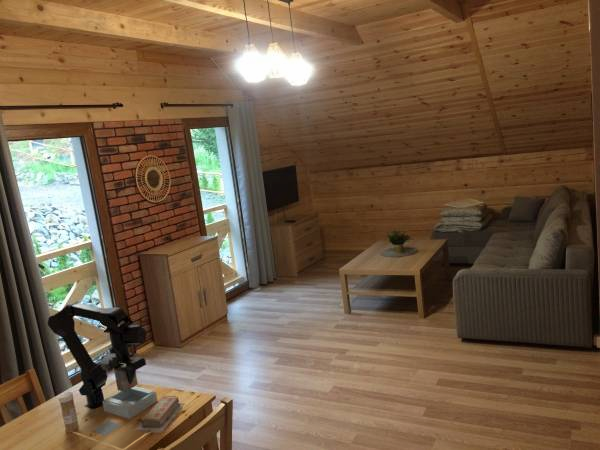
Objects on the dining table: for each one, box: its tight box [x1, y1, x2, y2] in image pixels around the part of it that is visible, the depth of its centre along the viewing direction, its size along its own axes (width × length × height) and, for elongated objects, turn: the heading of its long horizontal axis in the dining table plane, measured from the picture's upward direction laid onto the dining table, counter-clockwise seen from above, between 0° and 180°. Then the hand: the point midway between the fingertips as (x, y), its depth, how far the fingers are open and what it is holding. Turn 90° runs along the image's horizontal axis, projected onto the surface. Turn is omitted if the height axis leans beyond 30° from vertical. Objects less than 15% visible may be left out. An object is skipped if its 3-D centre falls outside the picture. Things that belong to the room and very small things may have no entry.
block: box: [113, 364, 139, 392], centre depth 194 cm, size 4×6×8 cm, turn 147°
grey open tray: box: [102, 385, 158, 420], centre depth 196 cm, size 14×13×5 cm
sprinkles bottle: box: [58, 391, 80, 434], centre depth 184 cm, size 5×5×13 cm
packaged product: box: [135, 395, 185, 434], centre depth 186 cm, size 18×5×10 cm
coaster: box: [91, 420, 122, 436], centre depth 182 cm, size 7×7×1 cm
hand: (126, 382), depth 194 cm, fingers closed on block, 4 cm apart
